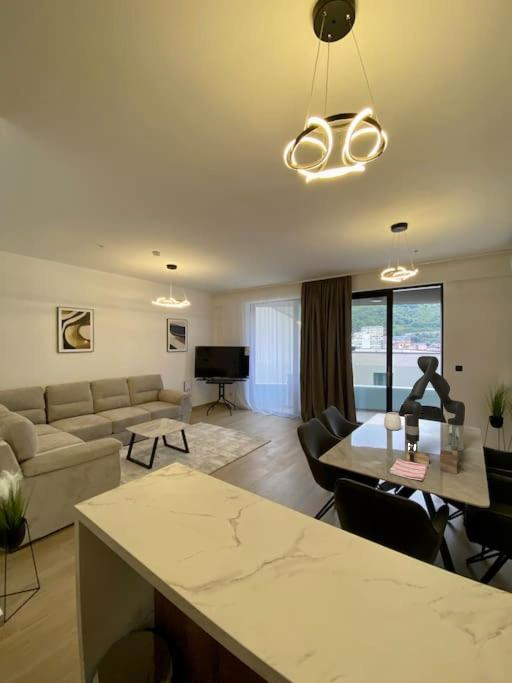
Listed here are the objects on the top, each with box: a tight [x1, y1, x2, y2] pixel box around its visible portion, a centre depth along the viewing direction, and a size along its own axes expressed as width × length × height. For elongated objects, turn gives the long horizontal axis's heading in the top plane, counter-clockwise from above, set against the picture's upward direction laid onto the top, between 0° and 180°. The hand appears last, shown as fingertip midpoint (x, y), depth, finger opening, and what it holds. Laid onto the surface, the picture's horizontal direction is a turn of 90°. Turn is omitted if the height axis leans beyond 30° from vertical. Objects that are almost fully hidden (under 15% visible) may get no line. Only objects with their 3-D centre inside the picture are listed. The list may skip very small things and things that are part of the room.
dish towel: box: [389, 458, 429, 482], centre depth 172 cm, size 17×23×4 cm
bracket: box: [445, 425, 459, 463], centre depth 187 cm, size 28×7×20 cm, turn 147°
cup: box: [383, 411, 402, 431], centre depth 252 cm, size 13×13×14 cm
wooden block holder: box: [439, 446, 458, 475], centre depth 173 cm, size 11×8×14 cm
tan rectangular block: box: [406, 450, 430, 465], centre depth 185 cm, size 4×12×6 cm, turn 57°
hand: (412, 458), depth 187 cm, fingers open, 8 cm apart
